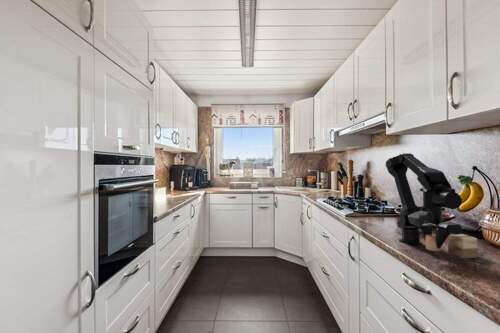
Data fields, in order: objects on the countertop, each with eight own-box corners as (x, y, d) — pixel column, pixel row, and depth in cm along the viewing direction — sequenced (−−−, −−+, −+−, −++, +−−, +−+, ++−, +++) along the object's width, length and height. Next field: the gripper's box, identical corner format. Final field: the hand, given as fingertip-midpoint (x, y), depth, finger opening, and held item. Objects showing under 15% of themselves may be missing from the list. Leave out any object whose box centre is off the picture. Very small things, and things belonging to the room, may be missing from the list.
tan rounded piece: (422, 247, 96) (422, 234, 96) (433, 246, 96) (433, 233, 96) (432, 251, 91) (432, 237, 91) (444, 250, 92) (443, 237, 92)
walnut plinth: (448, 253, 96) (448, 243, 96) (462, 252, 96) (462, 243, 96) (463, 258, 90) (463, 249, 90) (478, 257, 90) (478, 248, 90)
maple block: (449, 244, 95) (449, 234, 95) (463, 243, 96) (462, 234, 96) (463, 248, 90) (463, 239, 90) (477, 248, 90) (477, 238, 90)
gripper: (395, 201, 102) (396, 239, 102) (433, 209, 84) (433, 256, 84) (420, 200, 103) (421, 238, 104) (463, 208, 85) (464, 254, 85)
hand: (433, 246), depth 94 cm, fingers closed on tan rounded piece, 5 cm apart
